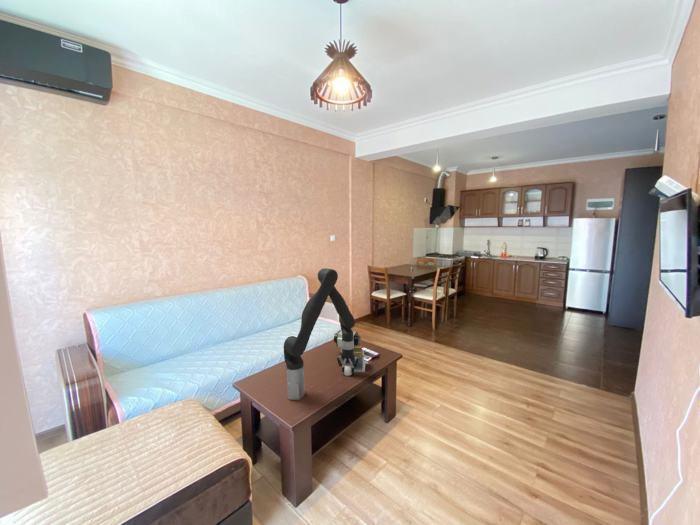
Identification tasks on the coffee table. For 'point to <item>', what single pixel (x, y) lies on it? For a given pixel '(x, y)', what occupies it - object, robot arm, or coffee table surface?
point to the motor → (360, 364)
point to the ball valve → (339, 338)
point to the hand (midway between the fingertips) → (348, 372)
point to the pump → (347, 369)
